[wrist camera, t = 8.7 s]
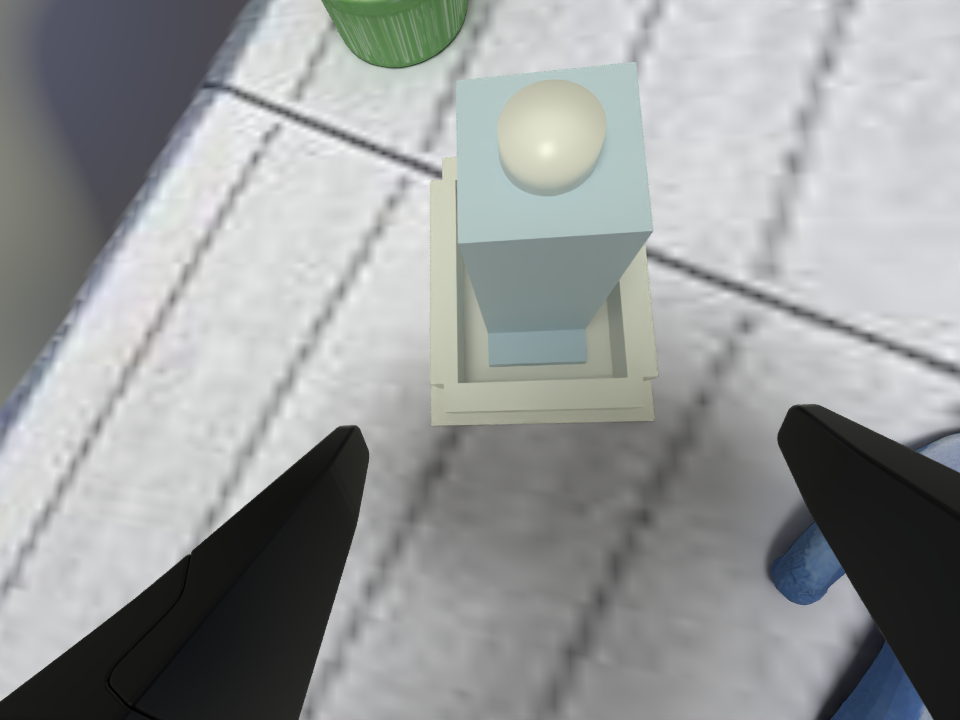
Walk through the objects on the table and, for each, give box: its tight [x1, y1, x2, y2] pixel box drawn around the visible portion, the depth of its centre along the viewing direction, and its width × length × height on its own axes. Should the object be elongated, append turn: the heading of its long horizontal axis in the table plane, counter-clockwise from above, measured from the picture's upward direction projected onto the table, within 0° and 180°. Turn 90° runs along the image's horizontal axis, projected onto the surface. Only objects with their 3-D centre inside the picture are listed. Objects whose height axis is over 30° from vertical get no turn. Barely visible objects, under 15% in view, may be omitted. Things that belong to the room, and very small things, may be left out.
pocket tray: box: [430, 157, 658, 426], centre depth 18 cm, size 13×10×4 cm
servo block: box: [456, 62, 653, 367], centre depth 14 cm, size 8×4×11 cm, turn 1°
